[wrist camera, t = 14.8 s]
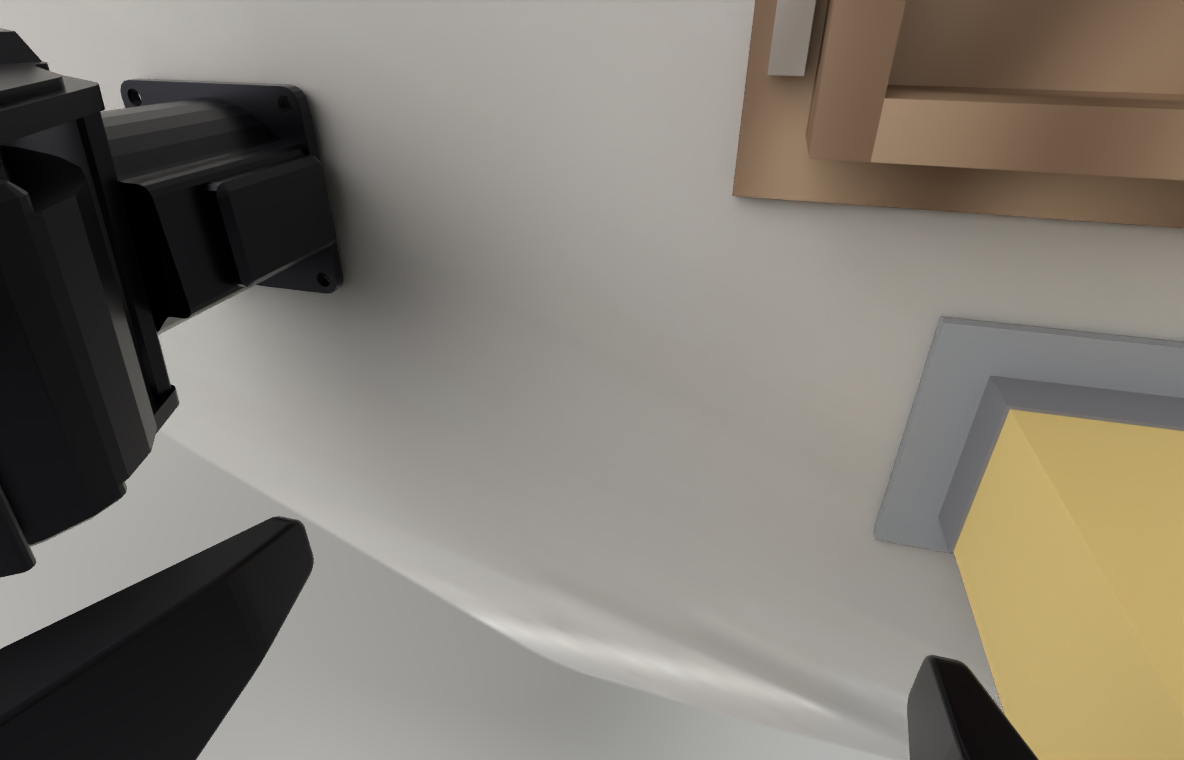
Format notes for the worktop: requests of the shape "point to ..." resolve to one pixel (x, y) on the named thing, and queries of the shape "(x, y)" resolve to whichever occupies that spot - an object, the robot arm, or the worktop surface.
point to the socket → (969, 107)
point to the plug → (1077, 564)
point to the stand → (958, 387)
